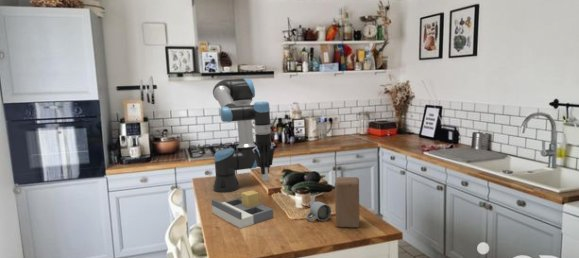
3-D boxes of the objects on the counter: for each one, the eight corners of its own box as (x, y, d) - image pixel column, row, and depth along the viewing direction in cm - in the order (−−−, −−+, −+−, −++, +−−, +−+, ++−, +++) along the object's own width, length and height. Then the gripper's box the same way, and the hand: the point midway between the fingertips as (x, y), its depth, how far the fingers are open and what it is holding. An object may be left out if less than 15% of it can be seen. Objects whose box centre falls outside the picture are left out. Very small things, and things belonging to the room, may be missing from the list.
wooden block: (359, 228, 164) (358, 183, 161) (335, 227, 166) (334, 182, 163) (359, 219, 173) (359, 176, 170) (337, 218, 175) (336, 176, 172)
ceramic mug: (322, 213, 182) (321, 198, 181) (331, 219, 175) (331, 203, 174) (302, 218, 178) (302, 202, 177) (311, 224, 170) (310, 207, 169)
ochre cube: (252, 201, 191) (251, 190, 190) (259, 204, 186) (258, 192, 185) (241, 204, 187) (241, 192, 186) (248, 207, 183) (247, 195, 182)
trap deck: (243, 204, 200) (242, 191, 199) (273, 217, 180) (272, 203, 179) (212, 213, 189) (211, 199, 188) (240, 228, 169) (239, 213, 168)
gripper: (256, 135, 181) (258, 184, 184) (278, 132, 189) (280, 178, 192) (247, 134, 187) (250, 181, 190) (269, 131, 195) (271, 176, 198)
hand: (265, 180), depth 191 cm, fingers closed
